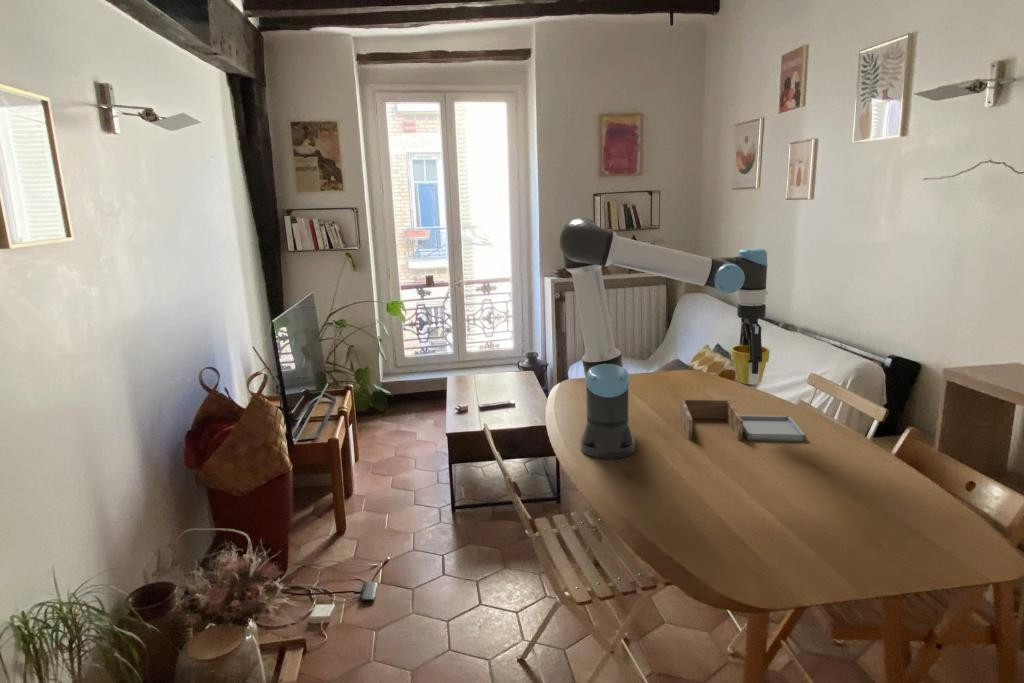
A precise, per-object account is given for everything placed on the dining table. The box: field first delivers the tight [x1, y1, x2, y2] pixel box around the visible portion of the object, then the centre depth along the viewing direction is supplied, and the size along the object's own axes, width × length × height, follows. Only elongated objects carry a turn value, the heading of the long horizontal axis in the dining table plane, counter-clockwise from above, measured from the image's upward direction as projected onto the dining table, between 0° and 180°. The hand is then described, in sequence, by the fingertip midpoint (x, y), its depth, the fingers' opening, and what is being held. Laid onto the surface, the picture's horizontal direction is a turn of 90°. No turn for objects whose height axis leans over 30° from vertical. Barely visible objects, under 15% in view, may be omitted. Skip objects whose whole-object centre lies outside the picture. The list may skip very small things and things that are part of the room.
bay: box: [679, 398, 743, 441], centre depth 188 cm, size 19×15×6 cm
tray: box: [739, 414, 806, 442], centre depth 185 cm, size 16×16×2 cm
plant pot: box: [730, 344, 770, 385], centre depth 180 cm, size 10×10×10 cm
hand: (749, 378), depth 181 cm, fingers closed on plant pot, 10 cm apart
